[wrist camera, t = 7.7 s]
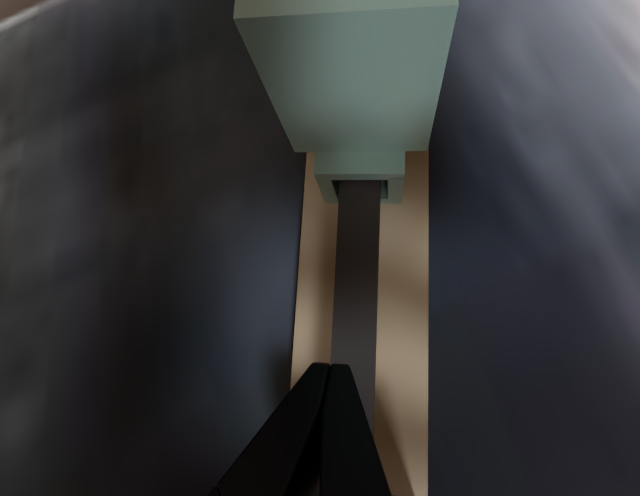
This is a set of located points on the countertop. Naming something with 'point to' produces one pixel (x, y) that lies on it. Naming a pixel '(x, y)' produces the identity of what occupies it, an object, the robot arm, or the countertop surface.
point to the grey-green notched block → (351, 80)
